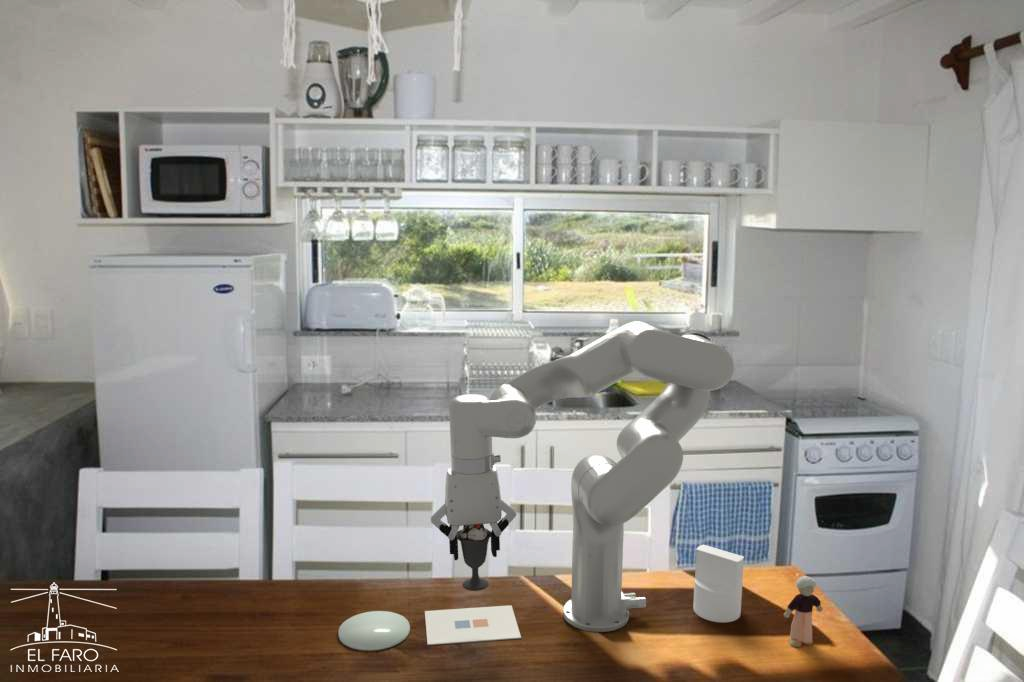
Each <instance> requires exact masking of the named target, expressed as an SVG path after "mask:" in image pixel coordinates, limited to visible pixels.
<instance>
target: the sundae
mask: <svg viewBox="0 0 1024 682" xmlns="http://www.w3.org/2000/svg"><path fill="white" fill-rule="evenodd" d="M492 535H493V534H492V532H491V530H490V529H488V528H485V524H476V525H464V526H463V527H462V529H458V531H457V534H456V537H457V539H458V542H460V546H461V552H462V556H463V557H462V558H463V560H464V561H463V562H464V563H465V565H466V566H467V567H468V568H470V569H471V574H472V575H471V578H468V579H466V580H464V581H463V583H462V587H463V589H464V590H467V591H470V592H477V591H478V592H479V591H483V590H486V589H487V588H488V587H489V585H490V582H489V581H488V580H487V579H486V578H481V577H480V575H479V568H480V567H481V566H483V565H484V563H485V562H486V558H487V555H488V554H487V552H488V543H489V540H490V539H491V536H492Z"/></svg>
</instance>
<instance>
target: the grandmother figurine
mask: <svg viewBox="0 0 1024 682" xmlns="http://www.w3.org/2000/svg"><path fill="white" fill-rule="evenodd" d="M795 582H796V583H795V584H796V588H797V589H798V591H799V594H797V595H795V596H794V597H793V598H792V600H791V601H790V602H789V604H788V605H787V607H786V609H785V612H784V613H783V617H784V618H787V619H788V618H790V615H791V614H792V613H793V611H794V615H793V619H792V621H791V625H790V634H789V638H788V640H787V641H788V643H789V645H790V646H792V647H795V648H799V647H801V646H802V645H808V646H811V645H813V643H814V642H813V617H812V616H813V609H814V608H813V607H815V608H816V611H817V612H819V613H821V612H823V607H822V604H821V603H822V602H821V600H820V598H818V597H817V596H816V595H815V594H813V593H814V591H815V590H814V589H816V587H817V583H816V581H815V579H813V578H812V577H810V576H807V575H803V576H801V577H798V579H797V580H796V581H795Z"/></svg>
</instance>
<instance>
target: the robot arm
mask: <svg viewBox="0 0 1024 682" xmlns="http://www.w3.org/2000/svg"><path fill="white" fill-rule="evenodd" d="M734 370H735V363H734V359H733V356H732V354H731V353H730V352H729V351H728V349H726V348H725V347H724V346H722V345H720V344H718V343H716V342H714V341H711V340H709V339H707V338H705V337H704V336H701V335H696V334H684V335H682V336H681V335H678V334H675V333H671V332H669V331H665V330H663V329H660V328H657V327H655V326H653V325H651V324H650V323H646V322H644V321H640V320H639V321H638V320H636V321H631V322H627V323H626V324H623V325H621V326H620V327H617V328H616V329H614V330H612V331H610V332H608V333H606V334H605V335H603V336H601V337H600V338H597V339H596V340H594V341H593V342H590V343H588V344H586V345H584V347H581V348H579V349H578V350H576V351H574V352H572V353H570V354H568V355H565V356H563V357H560V358H557V359H554V360H551V361H550V362H546V363H543V364H541V365H538V366H535V367H533V368H530V369H528V370H526V371H525V372H523V373H521V374H519V375H518V376H516V377H514V378H512V379H511V380H508V381H506V382H505V383H503V384H502V385H500V386H499V387H497V388H496V389H495V390H494V391H493V393H492V394H491V395H490V396H489V398H488V397H486V396H485V395H483V394H476V393H475V394H474V393H468V394H467V393H466V394H461V395H457V396H455V397H453V398H452V399H451V401H450V403H449V406H448V408H449V411H448V412H449V413H448V414H449V435H450V436H449V437H450V441H449V442H450V463H451V466H450V467H449V468H448V469H447V471H446V477H445V491H444V495H445V496H444V504H443V505H442V506H441V507H439V509H438V510H436V512H435V513H434V514H432V516H430V522H431V524H432V525H434V526H435V528H438V530H439V531H440V532H441V533H442V534H443V535H445V537H446V538H448V539H449V555H453V559H454V561H458V560H459V540H458V539H457V537H456V534H457V532H458V531H459V530H460V528H461V527H462V526H464V525H476V524H483V525H487V524H488V525H490V528H491V530H490V531H491V532H492V534H493V535H492V536H491V537H490V551H491V555H492V557H493V558H497V556H498V554H497V553H498V552H497V551H500V550H501V546H500V545H501V542H500V537H501V535H502V533H503V532H504V531H505V529H507V527H508V526H509V525H510V523H512V521H513V520H514V519H515V518H516V516H517V513H516V510H515V509H514V508H512V506H510V505H509V504H508V503H506V502H505V501H504V500H502V496H501V489H500V488H501V487H500V482H499V475H498V470H497V467H496V466H495V465H496V464H497V463H501V459H502V457H501V455H500V454H496V453H495V454H494V452H493V438H500V439H501V438H502V439H520V438H523V437H526V436H528V435H529V434H531V433H532V431H533V430H534V428H535V426H536V423H537V413H536V411H535V410H537V409H539V408H540V407H543V406H544V405H547V404H549V403H551V402H554V401H557V400H560V399H561V400H562V399H567V398H579V399H580V398H587V397H592V396H595V395H596V394H598V393H599V392H602V391H604V390H605V389H607V388H609V387H611V386H612V385H614V384H616V383H618V382H619V381H621V380H623V379H625V378H627V377H629V376H631V375H633V374H634V373H637V374H638V375H639V374H640V375H642V376H644V377H647V378H650V379H654V380H657V381H660V382H664V383H666V385H665V387H664V389H662V391H661V393H660V394H659V395H658V396H657V397H655V399H654V400H653V401H652V402H650V404H649V405H647V407H646V408H644V409H643V410H642V411H641V412H640V413H639V414H638V415H637V416H636V417H634V418H633V419H632V420H631V421H630V422H629V423H628V424H627V425H626V426H624V427H623V428H622V429H621V431H620V432H619V434H618V435H617V438H616V449H617V452H618V454H619V456H620V457H621V459H620V460H618V462H616V461H614V460H613V459H611V458H610V457H608V456H606V455H603V454H590V455H588V456H586V457H584V458H582V459H581V460H579V462H578V463H577V464H576V466H575V467H574V469H573V471H572V475H571V482H570V490H571V491H570V492H571V494H570V495H571V504H572V505H571V506H572V552H571V553H572V557H571V559H572V560H571V566H572V567H571V598H570V599H569V600H568V601H566V603H565V604H564V605H563V607H562V615H563V618H564V620H565V621H566V622H567V623H568V624H569V625H571V626H573V627H574V628H577V629H579V630H582V631H586V632H587V631H588V632H593V633H607V632H613V631H617V630H619V629H621V628H623V627H624V626H625V625H626V624H627V623H628V622H629V618H630V612H629V611H630V610H631V609H635V608H636V609H640V608H646V607H647V599H646V597H645V596H639V597H638V596H637V595H636V593H635V592H628V593H624V592H623V591H622V585H623V584H622V583H623V560H624V559H623V556H624V531H625V529H624V524H625V523H627V522H629V521H630V520H631V519H633V518H634V517H635V516H637V515H638V514H639V512H641V511H642V510H643V509H644V508H646V507H647V506H648V505H649V504H650V502H652V501H653V500H654V499H655V498H657V496H658V495H660V494H661V493H662V492H663V491H664V490H665V489H666V488H667V487H668V486H670V484H672V482H673V481H674V480H675V479H676V478H677V476H678V475H679V473H680V471H681V468H682V466H683V461H684V452H683V449H682V446H681V443H680V441H681V440H682V439H683V438H684V437H685V436H686V435H687V433H689V431H690V430H691V429H693V428H694V426H695V425H697V423H698V422H699V421H700V420H701V418H702V416H703V415H704V413H705V412H706V409H707V406H708V403H709V401H710V397H711V396H710V395H711V392H712V391H717V390H719V389H722V388H723V387H725V386H726V385H727V384H728V383H730V381H731V379H732V377H733V375H734ZM502 512H503V513H504V514H505V515H504V517H502ZM445 516H446V521H447V524H446V522H444V521H442V519H443V518H444V517H445Z"/></svg>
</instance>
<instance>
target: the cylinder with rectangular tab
mask: <svg viewBox="0 0 1024 682" xmlns="http://www.w3.org/2000/svg"><path fill="white" fill-rule="evenodd" d="M695 551H696V552H695V572H694V573H695V575H694V585H693V586H694V587H693V605H692V606H693V612H694V613H695V614H696V615H697V616H699V617H700V618H701V619H704V620H707V621H709V622H713V623H731V622H735V621H737V620H738V619H739V618H741V611H742V610H741V609H742V595H743V578H744V564H745V563H744V560H745V559H744V558H745V556H743V555H740V554H737V553H733V552H730V551H726V550H723V549H720V548H717V547H714V546H710V545H707V544H701V545H698V547H696V549H695Z"/></svg>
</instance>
